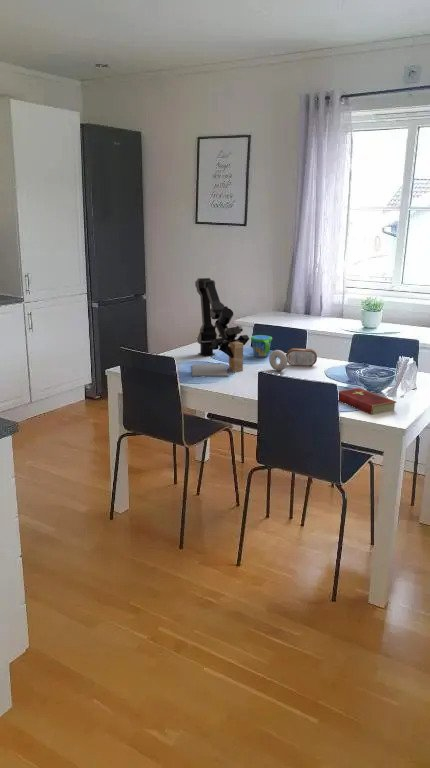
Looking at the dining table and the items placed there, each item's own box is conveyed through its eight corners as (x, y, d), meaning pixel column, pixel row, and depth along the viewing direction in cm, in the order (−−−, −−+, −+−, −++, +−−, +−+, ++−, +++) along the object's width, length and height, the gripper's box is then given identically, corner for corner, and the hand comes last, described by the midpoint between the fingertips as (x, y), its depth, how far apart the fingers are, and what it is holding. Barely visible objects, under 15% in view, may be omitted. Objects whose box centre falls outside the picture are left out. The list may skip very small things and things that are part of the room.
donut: (267, 369, 291) (267, 348, 288) (271, 368, 293) (272, 347, 290) (284, 373, 284) (284, 352, 281) (288, 372, 286) (289, 351, 284)
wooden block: (228, 369, 290) (229, 342, 286) (236, 368, 292) (236, 341, 289) (235, 371, 286) (235, 344, 282) (242, 370, 288) (243, 343, 285)
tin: (316, 365, 299) (317, 348, 297) (316, 367, 296) (317, 350, 294) (285, 364, 301) (286, 347, 298) (285, 366, 298) (286, 349, 295)
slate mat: (192, 365, 296) (192, 364, 296) (225, 365, 296) (225, 364, 296) (192, 376, 277) (192, 375, 276) (227, 376, 277) (227, 375, 277)
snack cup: (275, 359, 310) (276, 339, 307) (255, 360, 308) (256, 340, 305) (266, 352, 325) (266, 333, 322) (247, 353, 323) (247, 334, 320)
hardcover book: (371, 416, 228) (372, 405, 227) (335, 401, 245) (335, 390, 244) (395, 411, 233) (396, 400, 232) (358, 396, 251) (359, 387, 250)
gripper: (215, 321, 281) (229, 349, 275) (247, 317, 291) (261, 344, 285) (205, 335, 289) (218, 363, 283) (237, 331, 299) (250, 358, 294)
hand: (237, 356), depth 286 cm, fingers open, 5 cm apart
